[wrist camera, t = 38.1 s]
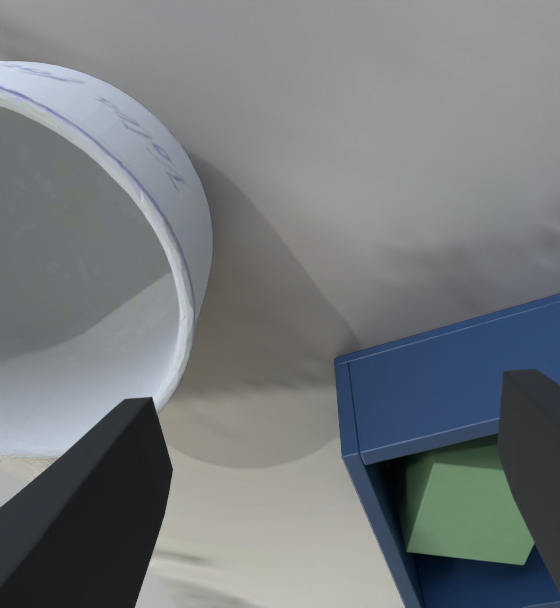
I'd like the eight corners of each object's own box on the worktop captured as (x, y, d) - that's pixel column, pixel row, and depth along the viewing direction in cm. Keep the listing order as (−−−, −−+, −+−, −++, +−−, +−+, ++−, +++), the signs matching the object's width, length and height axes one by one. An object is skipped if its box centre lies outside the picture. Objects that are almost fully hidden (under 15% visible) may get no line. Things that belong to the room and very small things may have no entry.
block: (518, 397, 22) (566, 478, 18) (487, 476, 24) (524, 566, 20) (410, 384, 22) (434, 463, 18) (389, 465, 24) (405, 552, 20)
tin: (633, 271, 20) (752, 356, 15) (650, 460, 24) (747, 580, 19) (333, 357, 22) (341, 457, 17) (394, 516, 26) (416, 636, 21)
